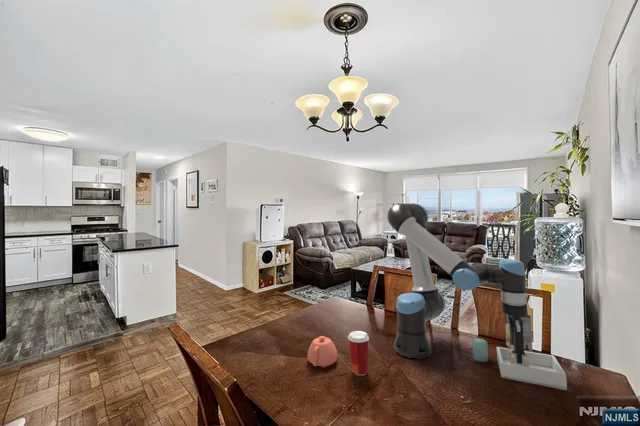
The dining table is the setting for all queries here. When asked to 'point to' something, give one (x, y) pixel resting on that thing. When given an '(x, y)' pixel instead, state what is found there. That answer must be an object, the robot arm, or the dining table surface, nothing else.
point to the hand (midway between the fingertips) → (518, 367)
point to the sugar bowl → (322, 352)
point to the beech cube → (511, 356)
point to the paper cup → (359, 351)
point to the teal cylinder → (480, 350)
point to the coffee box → (526, 333)
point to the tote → (533, 369)
